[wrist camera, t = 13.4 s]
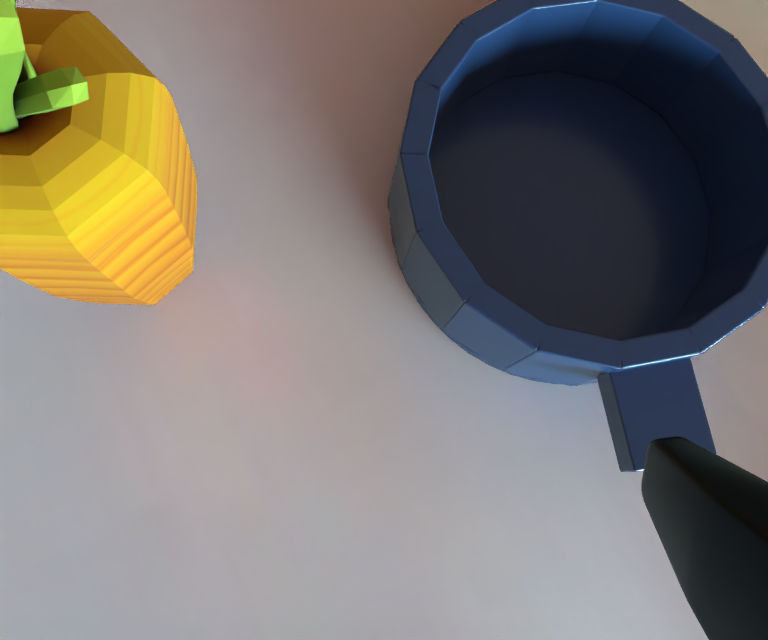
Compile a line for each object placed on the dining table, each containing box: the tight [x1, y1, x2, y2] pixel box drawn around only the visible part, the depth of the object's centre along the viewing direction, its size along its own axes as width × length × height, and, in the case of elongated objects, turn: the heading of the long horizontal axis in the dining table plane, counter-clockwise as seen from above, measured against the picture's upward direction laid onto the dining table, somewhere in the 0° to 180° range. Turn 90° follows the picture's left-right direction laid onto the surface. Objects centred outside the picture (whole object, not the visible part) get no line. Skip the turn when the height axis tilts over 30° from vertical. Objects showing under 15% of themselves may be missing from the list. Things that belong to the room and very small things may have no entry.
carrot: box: [0, 0, 197, 305], centre depth 16 cm, size 5×5×15 cm
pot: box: [388, 0, 768, 472], centre depth 23 cm, size 12×17×4 cm
